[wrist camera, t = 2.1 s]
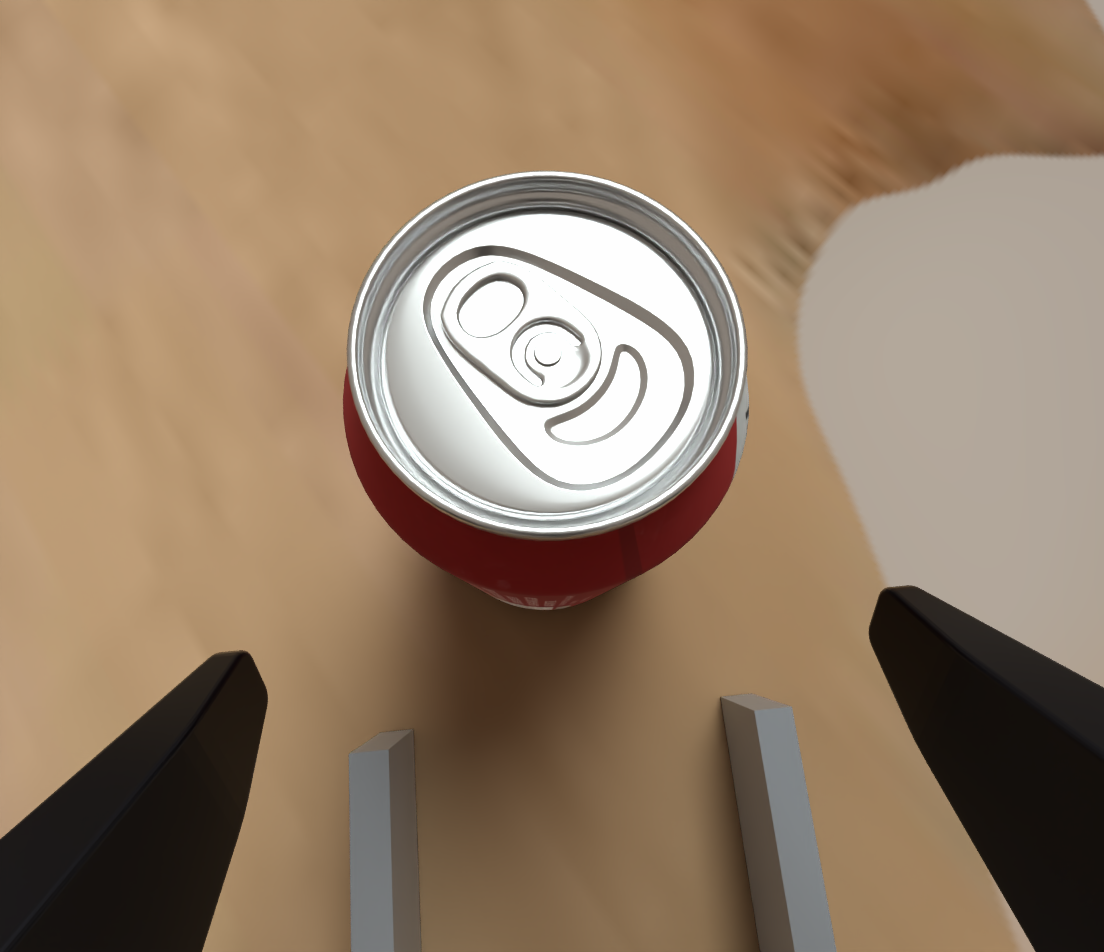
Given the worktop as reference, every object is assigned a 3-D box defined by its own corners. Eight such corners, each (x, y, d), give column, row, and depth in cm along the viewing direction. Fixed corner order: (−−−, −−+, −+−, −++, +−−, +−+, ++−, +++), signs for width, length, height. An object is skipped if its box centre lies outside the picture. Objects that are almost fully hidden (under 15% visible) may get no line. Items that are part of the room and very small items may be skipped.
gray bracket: (821, 1106, 16) (884, 1215, 13) (390, 1163, 15) (354, 1291, 12) (752, 693, 18) (791, 706, 15) (380, 732, 18) (348, 753, 15)
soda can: (553, 655, 19) (572, 710, 7) (400, 514, 20) (192, 355, 8) (685, 499, 20) (891, 322, 8) (536, 374, 21) (530, 58, 9)
